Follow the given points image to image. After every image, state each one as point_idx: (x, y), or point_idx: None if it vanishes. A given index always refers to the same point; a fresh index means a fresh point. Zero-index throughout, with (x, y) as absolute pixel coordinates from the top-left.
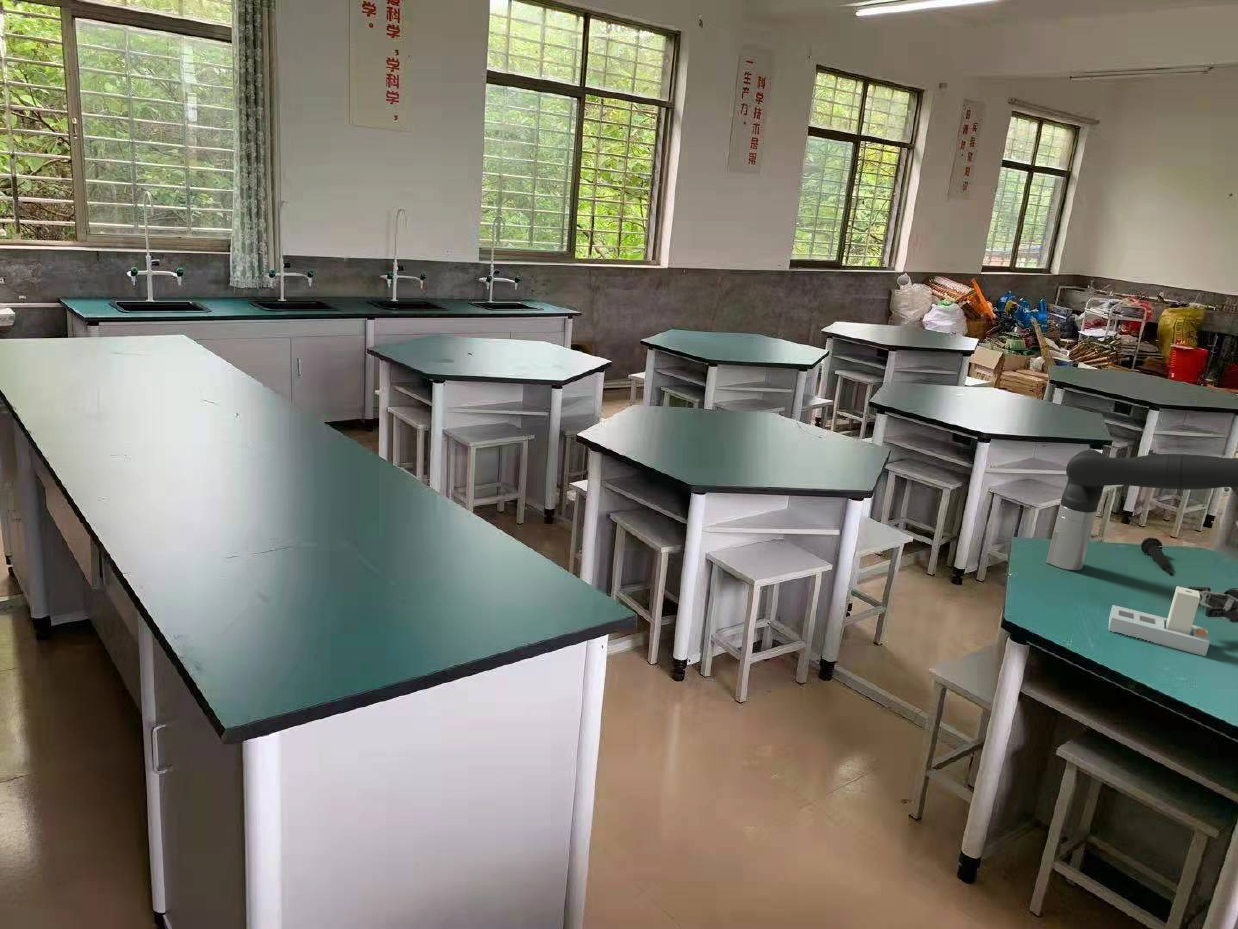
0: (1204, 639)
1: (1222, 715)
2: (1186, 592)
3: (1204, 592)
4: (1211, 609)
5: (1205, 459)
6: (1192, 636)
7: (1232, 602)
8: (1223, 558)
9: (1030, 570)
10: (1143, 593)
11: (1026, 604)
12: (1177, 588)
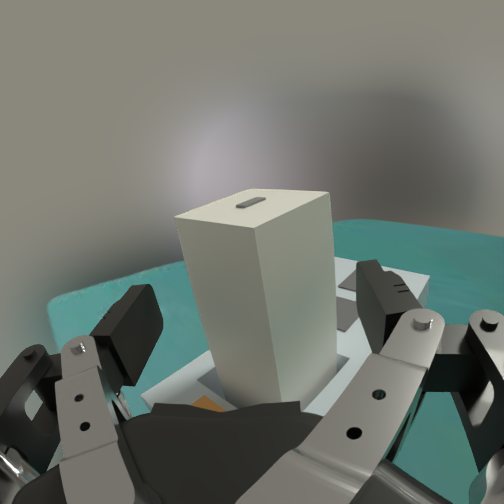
0: (163, 396)
1: (52, 302)
2: (243, 199)
3: (372, 354)
4: (132, 292)
5: None
6: (196, 372)
7: (65, 434)
8: None
9: None
10: None
11: (423, 232)
12: (293, 190)
